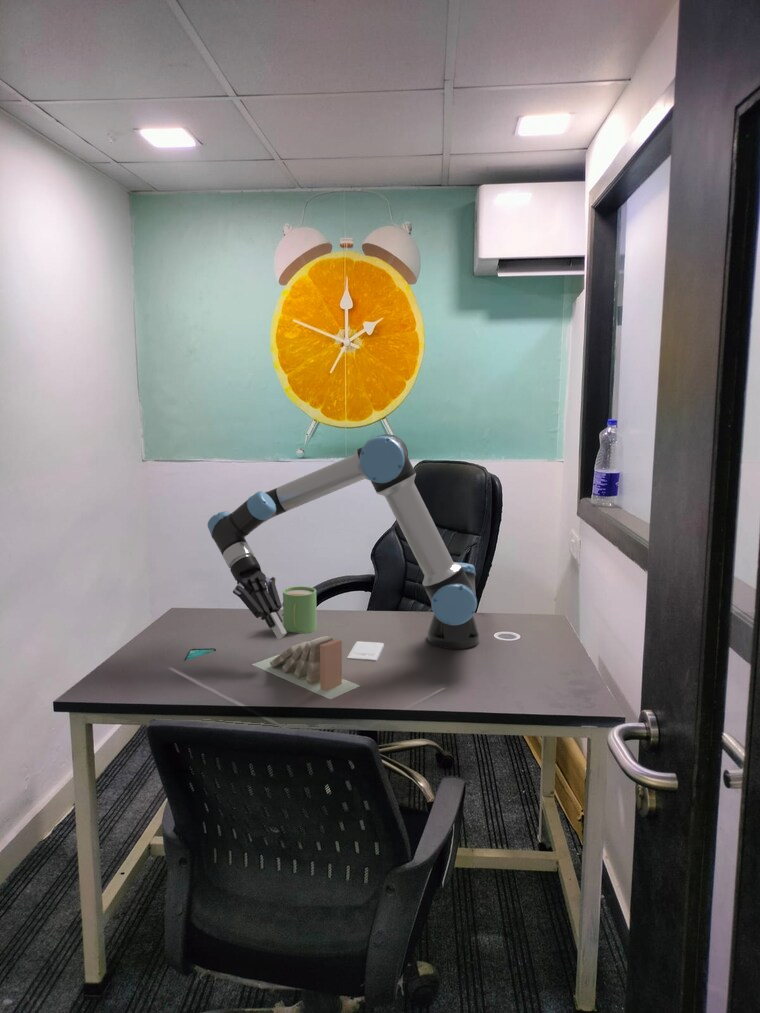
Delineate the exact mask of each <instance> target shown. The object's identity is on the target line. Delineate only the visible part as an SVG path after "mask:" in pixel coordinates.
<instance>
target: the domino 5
mask: <svg viewBox="0 0 760 1013" xmlns="http://www.w3.org/2000/svg"><path fill="white" fill-rule="evenodd" d="M342 644H343V643H342V640H341V639H338V638H336V639H334V640H333V641H330V642H327V643H324V644H321V645H320V689H322V690H324V691H326V690H328V689H331V688H333V687H335V686H338V685H340V684H342V679H343V678H342V675H343V674H342V673H343V669H342V668H343V667H342V666H343V665H342V664H343V662H342V661H343V660H342V658H343V657H342V656H343V653H342V652H343V651H342V649H343V648H342V646H343V645H342Z"/></svg>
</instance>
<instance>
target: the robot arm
mask: <svg viewBox="0 0 760 1013" xmlns="http://www.w3.org/2000/svg"><path fill="white" fill-rule="evenodd" d="M416 475H417V472H416V470H415V469H414V467H413V465H412V463H411V461H410V459H409V451H408V448H407V445H406V444H405V442H404V441H403V439H401V438H400V437H399V436H397V435H395V434H388V433H387V434H380V435H377V436H373V437H372V438H371V439H368V440H367V441H366V443H364V445H363V446H361V447H360V448H357V449H356V451H355V452H354V454H352V455H350V456H348V457H345V458H344V459H341V460H339V461H336V462H333V463H331V464H329V465H327V466H324V467H322V468H320V469H317V470H315V471H312V472H311V473H308V474H305V475H304V476H301V477H298V478H297V479H294V480H291V481H290V482H287V483H285V484H283V485H279V486H278V487H275V488H273V489H270V490H268V491H265V492H263V491H262V490H261V491H257V492H255V493H254V494H253V495H251V496H249V497H248V499H246V500H245V502H242V504H241V505H239V506H238V507H237V508H236V509H235V510H234V511H232V512H229V511H220V512H218V513H217V514H214V515H212V516H211V517H210V518H209V520H208V522H207V529H208V531H209V534H210V536H211V538H212V540H213V541H214V543H215V544H216V546H217V548H218V550H219V552H220V553H221V556H222V558H223V560H224V562H225V563H226V565H227V567H228V568H229V571H230V573H231V575H232V576H233V579H234V580H235V581H236V585H235V588H234V589H232V590H233V591H232V593H233V594H234V595H235V596H237V597H238V598H239V599H240V600H241V601H242V603H243V604H244V605H245V606H246V607H247V608H248V609H249V612H251V613H252V615H254V617H255V618H256V619H259V618H260V619H261V620H262V621H265V623H266V624H267V626H268V628H269V629H271V630H272V631H273V633H274V635H275V637H276V639H277V640H281V639H283V638H284V637H285V636H286V635H287V633H288V631H286V630H285V628H284V626H283V619H282V617H281V616H280V614H279V612H280V610H281V608H283V607H282V606H283V605H282V602H281V598H280V595H279V593H278V590H277V585H276V577H275V576H272V577H271V578H270V577H267V576H266V574H265V573H263V571H262V568H261V565H260V563H259V561H258V560H257V557H256V556H254V555H255V553H254V552H253V550H252V549H251V547H250V545H249V544H248V542H247V540H246V537H247V536H248V535H250V533H251V534H252V532H253V531H254V530H256V529H257V528H258V527H260V526H261V525H262V524H264V523H266V522H267V521H268V520H271V519H272V518H274V517H277V516H279V515H282V514H284V513H287V512H288V511H291V510H293V509H296V508H299V507H300V506H303V505H306V504H308V503H310V502H312V501H315V500H317V499H320V498H321V497H324V496H327V495H329V494H332V493H335V492H336V491H339V490H341V489H344V488H346V487H349V486H351V485H353V484H356V483H358V482H361V481H363V480H367V481H370V483H371V484H372V487H373V488H374V490H375V493H376V494H377V495H380V496H383V497H384V498H385V499H386V502H387V504H388V506H389V508H390V509H391V511H392V513H393V516H394V518H395V519H396V521H397V524H398V526H399V527H400V529H401V531H402V532H401V533H403V536H404V537H405V540H406V541H407V544H408V545H409V547H410V551H411V552H412V554H413V556H414V558H415V559H416V561H417V564H418V566H419V567H420V570H421V571H422V574H423V575H424V577H423V580H422V586H423V588H424V590H425V591H426V594H427V596H428V598H429V600H430V604H431V605H430V606H431V610H432V613H433V616H432V618H431V620H430V624H429V626H428V630H427V636H426V637H427V641H428V642H429V643H430V644H431V645H434V646H437V647H440V648H444V649H452V650H460V649H469V648H473V647H475V646H476V645H479V643H480V632H479V628H478V625H477V621H476V619H475V612H476V610H477V606H478V598H477V596H476V595H477V594H476V575H477V574H476V573H477V572H476V568H475V566H474V564H471V563H467V562H455V561H453V559H452V556H451V554H450V552H449V550H448V548H447V547H446V544H445V541H444V540H443V538H442V536H441V534H440V532H439V530H438V528H437V526H436V524H435V522H434V519H433V518H432V515H431V514H430V512H429V509H428V508H427V506H426V504H425V502H424V500H423V498H422V496H421V493H420V492H419V490H418V488H417V486H416V484H415V478H416Z"/></svg>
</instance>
